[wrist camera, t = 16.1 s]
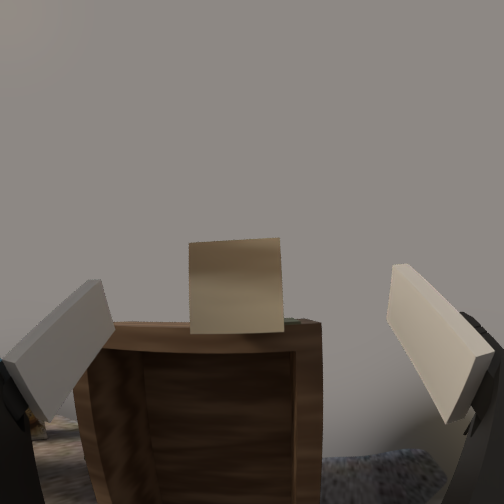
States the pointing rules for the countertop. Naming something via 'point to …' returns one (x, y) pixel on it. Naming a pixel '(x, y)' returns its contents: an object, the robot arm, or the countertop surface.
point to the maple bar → (235, 287)
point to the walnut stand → (204, 415)
